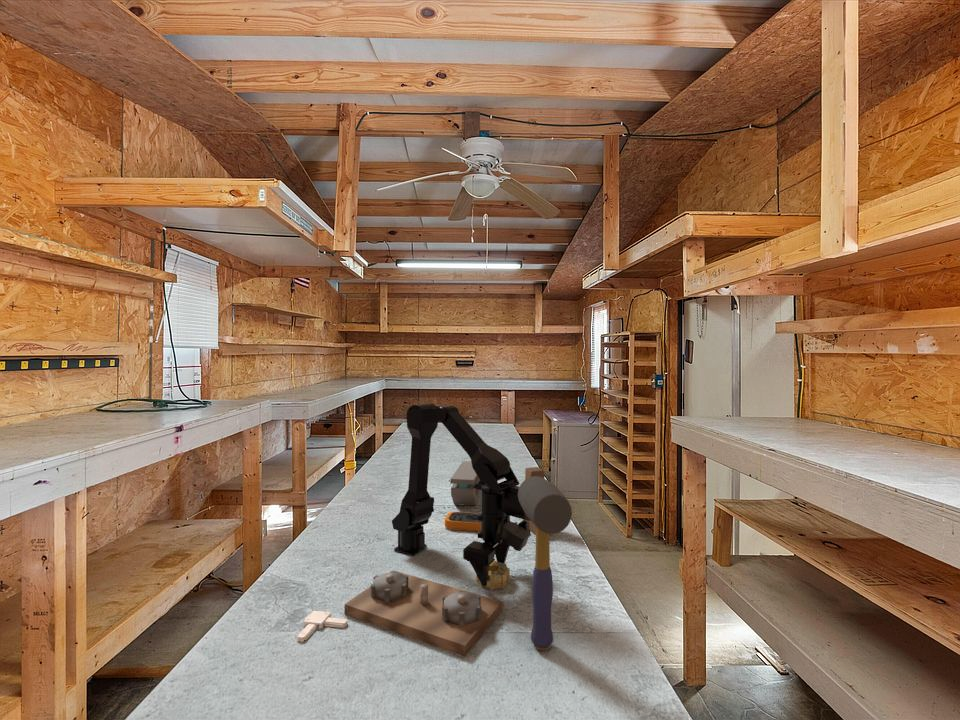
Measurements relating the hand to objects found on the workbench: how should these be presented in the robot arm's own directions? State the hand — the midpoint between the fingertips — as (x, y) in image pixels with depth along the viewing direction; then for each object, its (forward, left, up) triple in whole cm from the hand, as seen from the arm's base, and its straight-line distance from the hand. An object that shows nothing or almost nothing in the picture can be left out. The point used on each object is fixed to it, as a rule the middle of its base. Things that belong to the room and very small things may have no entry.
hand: (492, 576), depth 106 cm
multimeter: (-19, +27, -2) cm, 33 cm away
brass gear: (0, 0, -1) cm, 1 cm away
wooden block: (-1, +33, -1) cm, 33 cm away
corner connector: (-21, -32, -2) cm, 38 cm away
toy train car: (-33, +48, -1) cm, 58 cm away
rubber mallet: (+18, -17, -1) cm, 25 cm away
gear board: (-7, -18, -1) cm, 19 cm away
